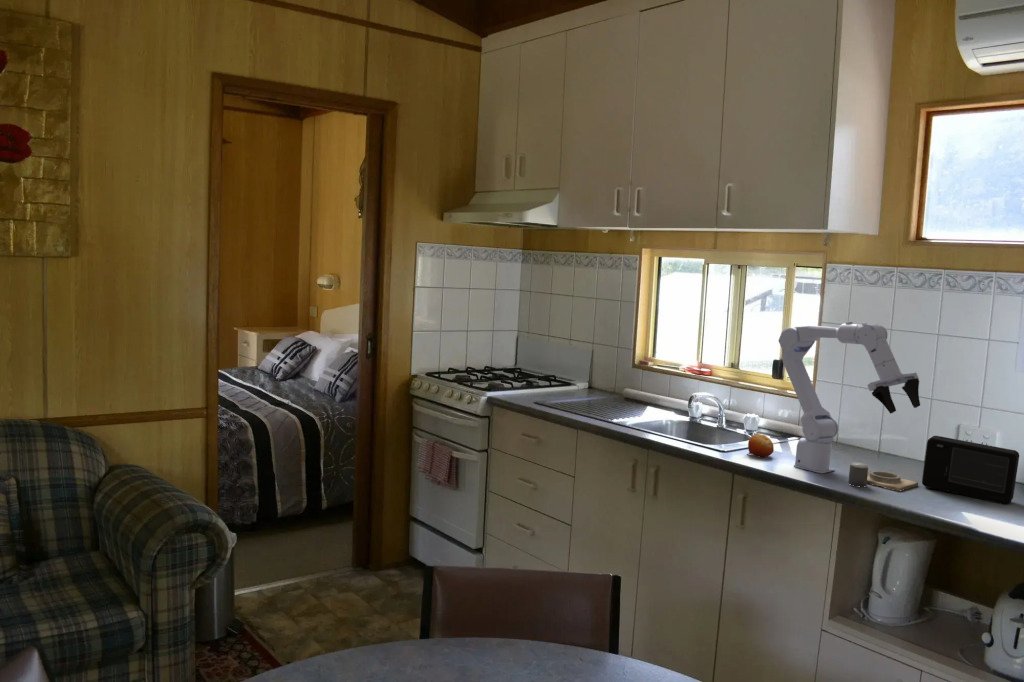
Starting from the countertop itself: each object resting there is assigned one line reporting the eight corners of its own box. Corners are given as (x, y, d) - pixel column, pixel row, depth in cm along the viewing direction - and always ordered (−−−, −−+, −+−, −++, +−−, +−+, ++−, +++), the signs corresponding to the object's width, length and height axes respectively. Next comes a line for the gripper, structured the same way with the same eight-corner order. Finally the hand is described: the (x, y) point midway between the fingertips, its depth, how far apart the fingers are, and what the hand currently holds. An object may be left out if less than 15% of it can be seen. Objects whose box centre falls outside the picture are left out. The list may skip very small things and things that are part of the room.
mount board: (850, 479, 245) (851, 471, 245) (870, 474, 253) (871, 466, 253) (898, 491, 235) (899, 483, 235) (918, 485, 243) (918, 477, 242)
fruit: (750, 446, 276) (763, 428, 273) (768, 463, 272) (781, 445, 268) (737, 449, 271) (750, 431, 267) (755, 466, 266) (769, 448, 263)
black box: (1017, 500, 233) (1023, 446, 232) (1010, 507, 226) (1016, 451, 224) (929, 482, 248) (934, 432, 246) (919, 488, 240) (925, 436, 239)
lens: (845, 484, 240) (847, 463, 239) (854, 481, 243) (856, 461, 243) (861, 488, 236) (863, 467, 236) (870, 485, 240) (872, 465, 239)
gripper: (869, 363, 232) (889, 410, 227) (915, 353, 235) (936, 399, 230) (857, 373, 238) (876, 418, 233) (901, 363, 241) (922, 407, 236)
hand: (905, 409), depth 232 cm, fingers open, 7 cm apart
